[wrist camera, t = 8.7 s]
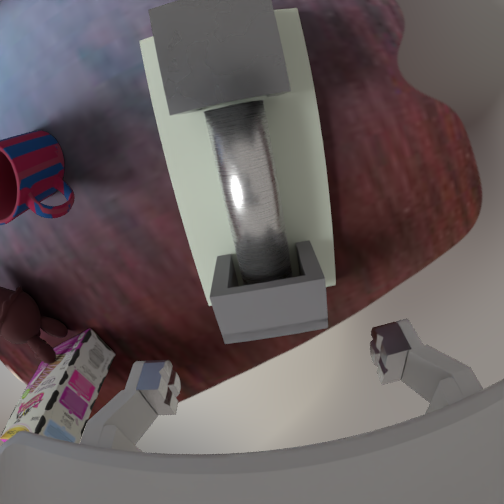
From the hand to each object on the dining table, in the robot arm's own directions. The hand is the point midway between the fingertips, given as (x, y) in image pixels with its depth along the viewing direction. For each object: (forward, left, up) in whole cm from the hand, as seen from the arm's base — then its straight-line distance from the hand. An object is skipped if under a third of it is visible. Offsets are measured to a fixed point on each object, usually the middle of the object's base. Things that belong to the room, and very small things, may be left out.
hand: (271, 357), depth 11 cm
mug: (-8, -18, -16) cm, 26 cm away
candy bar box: (+13, -26, -16) cm, 33 cm away
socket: (+5, 0, -15) cm, 15 cm away
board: (-4, 0, -16) cm, 16 cm away
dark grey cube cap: (-13, 0, -15) cm, 20 cm away
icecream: (+4, -30, -16) cm, 34 cm away
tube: (-2, 0, -15) cm, 15 cm away
